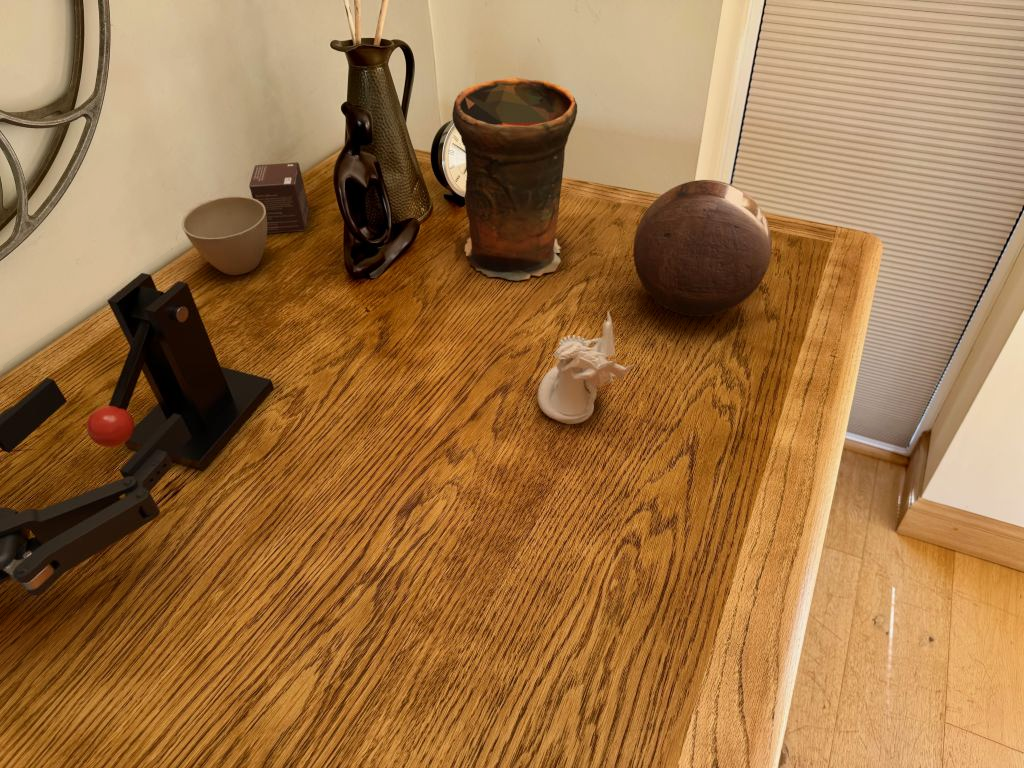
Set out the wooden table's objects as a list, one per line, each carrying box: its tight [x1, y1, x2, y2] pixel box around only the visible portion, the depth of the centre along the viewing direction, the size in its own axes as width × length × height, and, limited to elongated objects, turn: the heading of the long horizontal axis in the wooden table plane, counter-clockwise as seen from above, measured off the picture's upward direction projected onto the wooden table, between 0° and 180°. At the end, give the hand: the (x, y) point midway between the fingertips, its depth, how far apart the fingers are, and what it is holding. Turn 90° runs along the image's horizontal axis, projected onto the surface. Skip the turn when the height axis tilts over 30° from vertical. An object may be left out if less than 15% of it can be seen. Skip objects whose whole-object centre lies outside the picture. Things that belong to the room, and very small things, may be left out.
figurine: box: [537, 310, 636, 425], centre depth 69 cm, size 11×8×12 cm
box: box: [248, 162, 310, 234], centre depth 99 cm, size 6×6×7 cm
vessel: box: [451, 77, 578, 281], centre depth 89 cm, size 14×14×20 cm
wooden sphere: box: [632, 179, 773, 317], centre depth 81 cm, size 15×15×15 cm
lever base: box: [106, 272, 275, 471], centre depth 69 cm, size 12×9×16 cm
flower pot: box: [181, 195, 268, 276], centre depth 92 cm, size 10×10×7 cm
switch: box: [86, 287, 165, 448], centre depth 64 cm, size 14×4×4 cm
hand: (118, 406), depth 63 cm, fingers open, 13 cm apart
